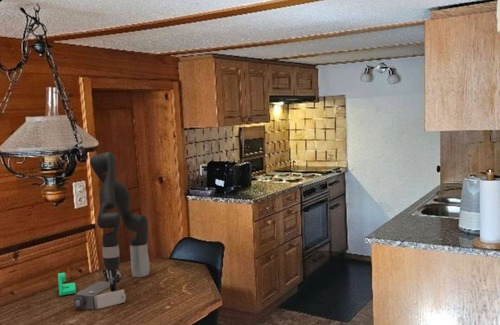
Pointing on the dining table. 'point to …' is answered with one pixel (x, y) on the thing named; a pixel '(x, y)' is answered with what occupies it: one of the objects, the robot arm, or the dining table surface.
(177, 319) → the dining table surface
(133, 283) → the dining table surface
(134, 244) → the robot arm
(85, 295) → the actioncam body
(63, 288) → the camera mount
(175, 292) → the dining table surface
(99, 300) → the side door
